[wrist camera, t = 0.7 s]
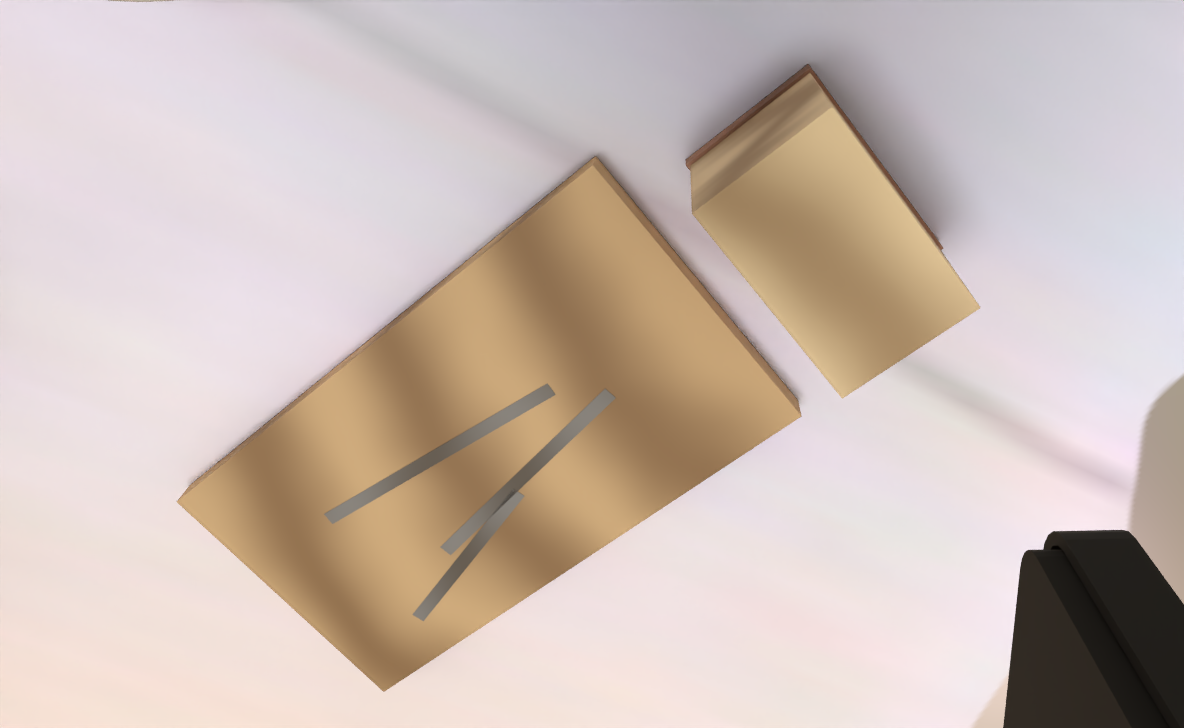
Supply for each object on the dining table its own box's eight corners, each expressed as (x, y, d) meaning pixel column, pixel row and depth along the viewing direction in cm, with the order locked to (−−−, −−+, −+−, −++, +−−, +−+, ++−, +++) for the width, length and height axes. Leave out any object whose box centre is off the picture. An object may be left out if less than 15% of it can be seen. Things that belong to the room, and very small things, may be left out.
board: (595, 156, 34) (592, 165, 33) (797, 400, 37) (801, 416, 36) (190, 484, 41) (176, 502, 40) (391, 671, 44) (383, 692, 43)
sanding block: (807, 63, 33) (832, 101, 27) (937, 240, 35) (985, 308, 29) (685, 159, 34) (686, 213, 29) (817, 323, 36) (841, 402, 31)
